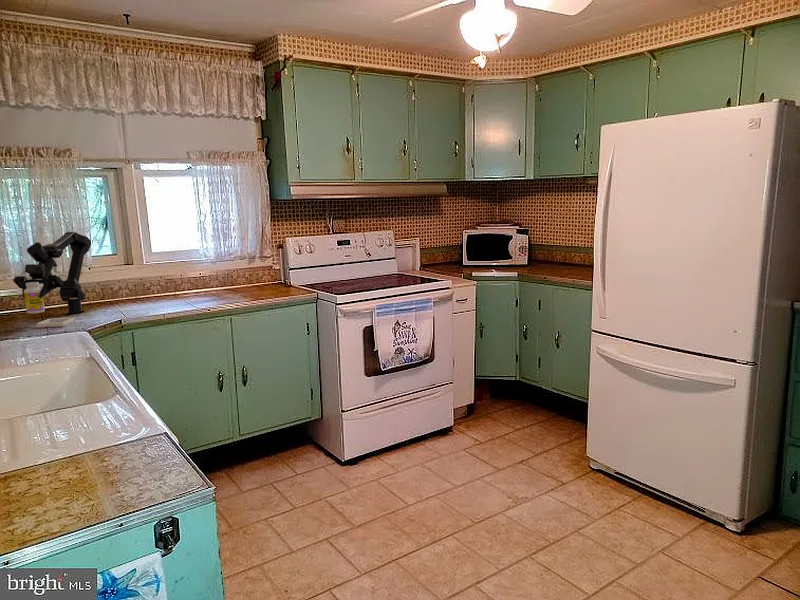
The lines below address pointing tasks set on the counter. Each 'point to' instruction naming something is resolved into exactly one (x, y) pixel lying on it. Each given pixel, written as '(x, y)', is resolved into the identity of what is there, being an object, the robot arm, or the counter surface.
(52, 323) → the pocket tray
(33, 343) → the counter surface
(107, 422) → the counter surface
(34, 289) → the supplement bottle
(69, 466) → the counter surface
